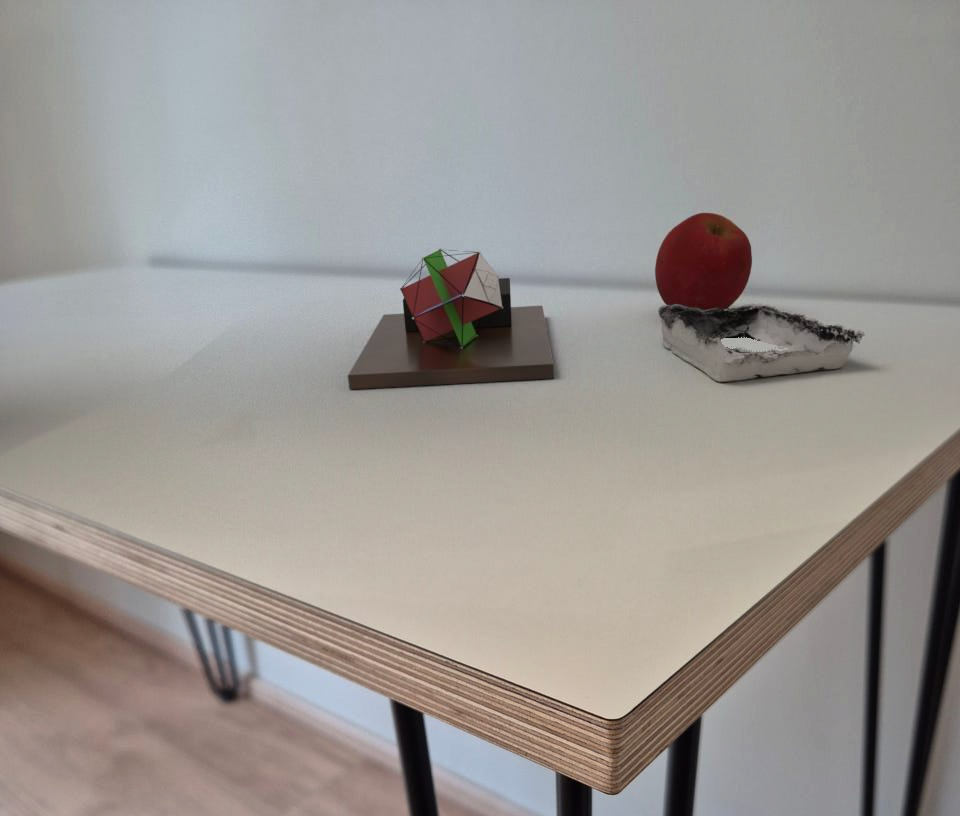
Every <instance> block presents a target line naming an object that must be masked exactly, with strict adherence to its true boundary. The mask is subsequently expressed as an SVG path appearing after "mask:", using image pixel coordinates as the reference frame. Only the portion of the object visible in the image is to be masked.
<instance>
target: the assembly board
mask: <svg viewBox="0 0 960 816" xmlns="http://www.w3.org/2000/svg"><path fill="white" fill-rule="evenodd" d="M511 324H512V325H511V326H506V327H489V328H482V329H481V328H474V330H475V332H476V333H477V329H478V331H479V330H480V329H481V330H482V331H481V330H480V331H481V332H480V331H479V332H480V333H479V332H478V333H479V334H478V336H477V337H475V338H473V339H472V340H471V341H470V342H469V343H467V344H466V345H465V346H464V347H463V349H461V348H459V346H460V347H461V344H460V342H459V340H458V338H455V337H457V335H456V333H455V331H454V329H453V330H451V331H448V332H446V333H444V334H442V336H444V337H445V338H444V337H442V336H441V335H439V336H437V337H435V338H432V339H430V340H428V341H431V340H439V339H446V338H455V339H449V340H450V341H449V340H439V341H431V342H429V343H427V342H425V343H424V342H423V338H422V336H421V334H420V332H419V331H418V332H406V330H405V319H404V312H403V313H389V314H387V313H386V314H383V315H382V317H381V318H380V319H379V322H378V324H377V325H376V327H375V328H374V329H373V332H372V334H371V335H370V337H369V338H368V340H367V342H366V344H365V345H364V347H363V349H362V351H361V352H360V354H359V356H358V358H357V359H356V361H355V362H354V364H353V366H352V368H351V370H350V371H349V373H348V374H347V380H348V381H347V382H348V388H349V390H369V389H385V388H386V389H387V388H405V387H421V386H422V387H423V386H424V387H425V386H440V385H444V386H445V385H459V384H462V385H463V384H476V383H477V384H479V383H480V384H481V383H497V382H517V381H534V380H553V379H554V378H555V374H554V373H555V372H554V371H555V369H554V360H553V354H552V350H551V344H550V340H549V334H548V333H549V332H548V328H547V323H546V317H545V311H544V307H543V305H529V306H528V305H527V306H524V305H523V306H511ZM451 341H452V342H454V343H455V344H454V343H452V342H451ZM433 343H435V344H433ZM440 344H442V345H440ZM456 344H457V345H459V346H457V345H456ZM446 345H448V346H446ZM452 346H455V347H452Z"/></svg>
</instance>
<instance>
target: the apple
mask: <svg viewBox="0 0 960 816" xmlns="http://www.w3.org/2000/svg"><path fill="white" fill-rule="evenodd" d="M752 254H753V253H752V246H751V242H750V239H749V237H748V235H747V234H746V232H744V231H743V229H741V228H740V227H739V226H738V225H737V224H735V223H734V222H733V221H732V220H730V219H729V218H728V217H726V216H724V215H721V214H718V213H713V212H698V213H696V214H693V215H691V216H689V217H687V218H685V219H684V220H682V221H681V222H680V223H678V224H677V225H675V226H674V227H673V228H672V229H671V230H670V231H668V233H667V234H666V236H665V237H664V238H663V240H662V243H661V244H660V246H659V249H658V251H657V254H656V258H655V259H656V260H655V267H654V274H655V275H654V278H655V283H656V287H657V292H658V295H659V296H660V299H661V300H662V301H663V303H664V305H670V306H672V305H673V304H680V305H683V306H687V307H689V308H699V309H701V310H708V309H711V308H722V309H728V308H730V307H731V306H732V305H733V304H734V303H736V301H737V300H738V299H739V298H740V297H741V295H742V294H743V293H744V290H746V287H747V284H748V283H749V280H750V276H751V271H752V264H753V255H752Z"/></svg>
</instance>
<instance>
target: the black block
mask: <svg viewBox="0 0 960 816" xmlns="http://www.w3.org/2000/svg"><path fill="white" fill-rule="evenodd" d="M499 286H500V293H501V301H502V306H503V309H501V310H500V309H499V310H500V311H499V310H496V311H494V312H492V313H490V314H487V315H485V316H483V317H480V323H479V318H478V319H476V320H474V321H471V323H472V325H473V328H478V323H479V328H482V327H483V326H484V325H485V324H486V323H487V322H488V321H489V320H490V319H491V318H492V317H493V316H494V315H495V314H496V313H497V312H498V311H499V312H498V313H497V314H496V315H495V316H494V318H493V319H492V320H491V321H490V322H489V323H488V324H487V325H485V326H484V327H483V328H489V327H506V326H511V325H512V324H511V307H512V297H511V295H512V294H511V278H510V277H504V278H503V277H502V278H499ZM402 307H403V308H402V309H403V313H404V319H405V330H406V332H418V331H419V330H418V328H417V326H416V324H415V322H414V321H415V320H413V319H412V317H413V316H412V315H411V313H410V312H411V311H409V308H408V306H407V303H406V301H405V299H404V298H403V299H402Z"/></svg>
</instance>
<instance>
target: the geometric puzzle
mask: <svg viewBox="0 0 960 816" xmlns="http://www.w3.org/2000/svg"><path fill="white" fill-rule="evenodd" d="M449 251H453V252H458V250H455V249H449ZM443 253H444V254H445V256H444V255H443ZM471 253H473V254H472V255H470V256H468V257H466V258H464V259H462V260H458V259H456V258H455V257H454V256H459V255H461V253H456V254H455V253H454V256H453V255H452V254H449V253H447V252H445V250H443V249H442V248H438V250H436V251H434V252H432V253H430V254H428V255H426V256H422V257H421V260H420V262H419V263H418V264H417V266H416V267H415V268H414V270H413V271H412V272H411V274H410V275H409V277H408V278H407V279H406V281H405V282H404V284H403V285H402V286H401V287H399V291H400V292H401V294H402V296H403V299H405V301H406V303H407V306H408V308H409V311H411V312H410V313H411V315H412V316H413V317H412V319H413V320H415V321H414V322H415V324H416V326H417V328H418V330H419V332H420V334H421V336H422V338H423V342H424V343H425V342H427V343H429V342H431V341H439V340H449V339H455V338H458V340H459V342H460V344H461V347H460V346H459V345H457V344H456V345H457V346H459V348H461V349H463V347H464V346H465V345H466V344H467V343H469V342H470V341H471V340H472V339H473V338H475V337H477V336H478V334H479V333H480V332H481V331H482V330H481V329H482V328H483V327H484V326H485V325H487V324H488V323H489V322H490V321H491V320H492V319H493V318H494V316H495V315H496V314H497V313H498V312H499V311H500V310H501V309H503V306H502V301H501V293H500V286H499V279H500V278H499V276H498V275H497V273H496V272H495V271H494V269H493V268H492V267H491V265H490V264H489V262H488V261H487V260H486V258H485V257H484V256H483V254H482V253H481V251H480V250H478V251H470V250H465V252H464V253H463V255H467V254H468V255H469V254H471ZM445 257H450V258H452V259H453V260H454V261H456V262H455V263H453V264H451V265H449V266H448V265H447V262H446V260H445ZM423 262H424V265H423ZM419 264H421V266H420V269H418V270H417V272H416V273H415V274H414V272H415V270H416V269H417V267H418V266H419ZM425 266H426V268H427V271H428V273H429V275H428V276H425V277H423V278H421V275H422V269H424V267H425ZM419 272H420V273H419ZM413 274H414V275H413ZM418 274H419V278H418V280H417V281H415V282H413V283H410V284H408V283H409V282H410V281H411V280H413V278H414V277H415V276H416V275H418ZM412 275H413V276H412ZM499 309H500V310H499ZM496 310H499V311H498V312H497V313H496V314H495V315H494V316H493V317H492V318H491V319H490V320H489V321H488V322H487V323H486V324H485V325H484V326H483V327H482V328H481V329H480V330H481V331H480V330H479V331H480V332H479V331H478V329H477V333H476V332H475V330H474V328H473V325H472V323H471V321H474V320H476V319H478V318H479V323H480V317H483V316H485V315H487V314H490V313H492V312H494V311H496ZM479 323H478V328H479ZM453 329H454V331H455V333H456V335H457V337H455V338H446V339H439V340H431V341H428V340H430V339H432V338H435V337H437V336H439V335H441V336H442V334H444V333H446V332H448V331H451V330H453ZM478 332H479V333H478ZM442 337H444V336H442ZM444 338H445V337H444ZM449 341H450V340H449ZM451 342H452V341H451ZM452 343H454V342H452ZM433 344H435V343H433ZM454 344H455V343H454ZM440 345H442V344H440ZM446 346H448V345H446ZM452 347H455V346H452Z"/></svg>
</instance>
